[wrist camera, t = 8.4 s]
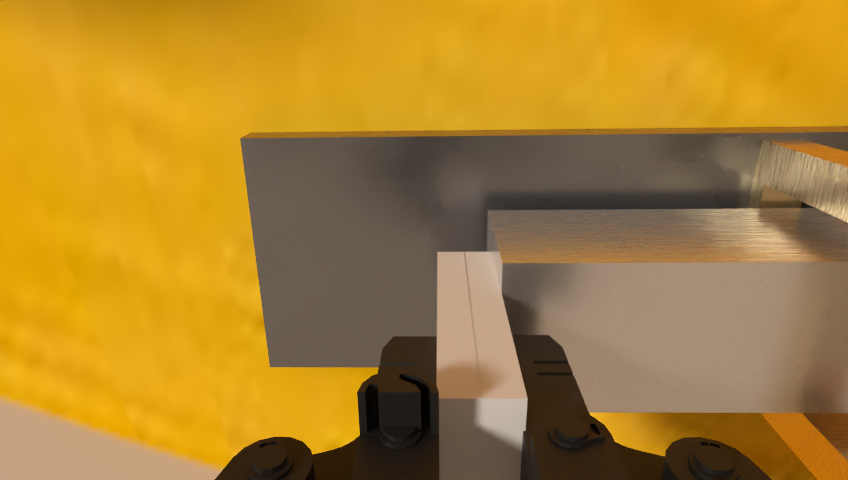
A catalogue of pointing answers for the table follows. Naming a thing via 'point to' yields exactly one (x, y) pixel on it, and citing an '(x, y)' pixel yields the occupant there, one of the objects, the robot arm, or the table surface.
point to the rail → (468, 212)
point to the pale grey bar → (684, 304)
